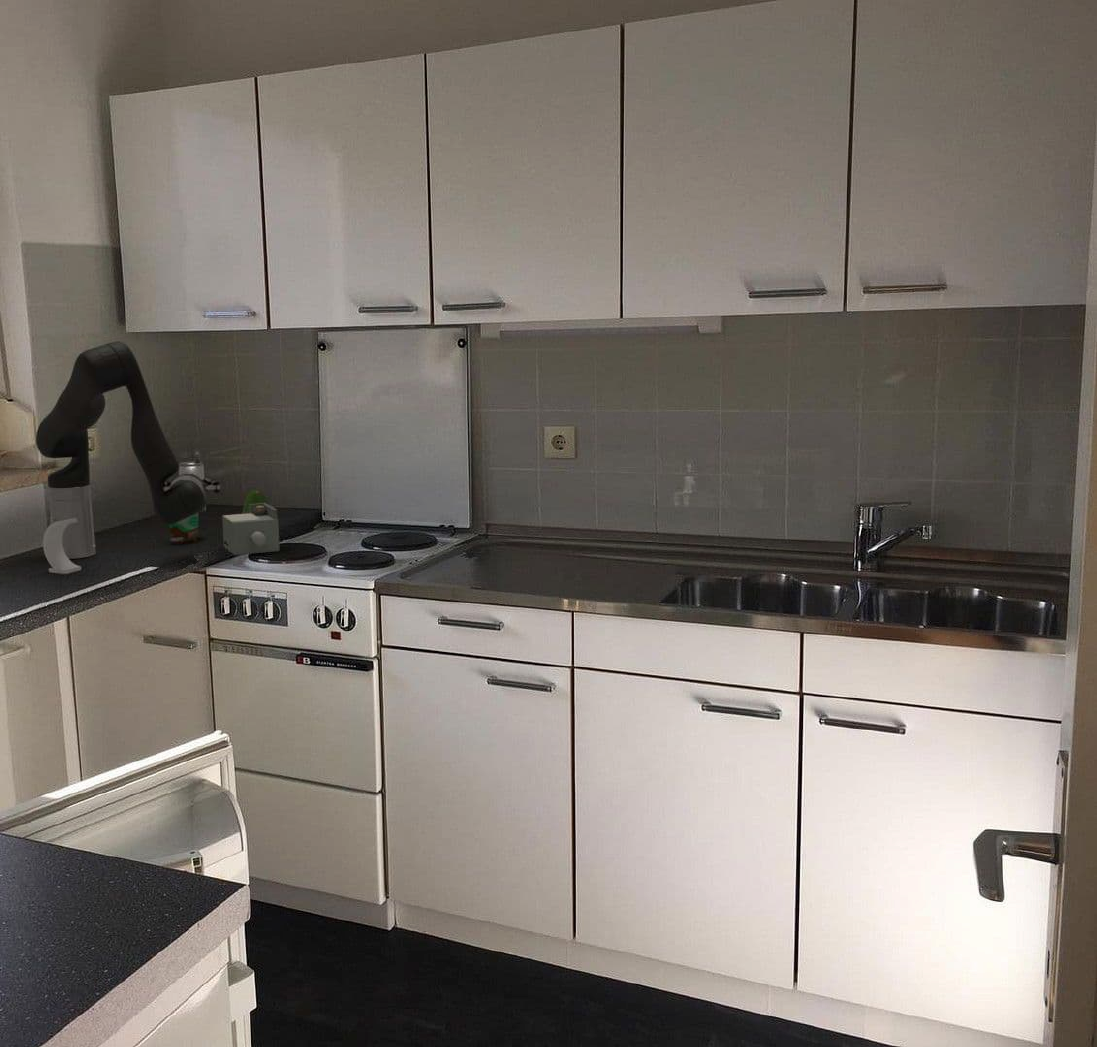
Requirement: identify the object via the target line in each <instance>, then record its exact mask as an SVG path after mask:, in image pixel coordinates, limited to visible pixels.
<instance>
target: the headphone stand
mask: <svg viewBox="0 0 1097 1047" xmlns="http://www.w3.org/2000/svg"><path fill="white" fill-rule="evenodd" d="M75 522H77V518H73V519H68V520H63V521H58V522H54V523H52V524H51V523H50V524H49V526H48V527H47V528H46V530H45V531H44V534H43V538H42V540H43V541H42V544H43V545H42V546H43V551H44V556H45V558H46V560H47V562H48V563H49V565H50V566H51V567H50V568H48V572H49V573H54V574H60V575H61V574H62V575H67V574H71V573H74V572H75V573H76V572H78V571H81V570H82V566H81V565H77V564H75V563H74V562H72V561H71V559H68V557H67V556H66V554H65V552H64V549H63V545H62V535H63V532H64V529H65V528H66V526H67V525H69V524H70V523H75Z"/></svg>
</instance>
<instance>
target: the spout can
mask: <svg viewBox="0 0 1097 1047" xmlns="http://www.w3.org/2000/svg"><path fill="white" fill-rule="evenodd" d="M178 472H179V474H178V476H180V475H182V474H194V475H196V476H198V477H199V478H200V479H205V468H204V464H203V462H202V461H201V453H200V452H197V451H196V452H194V461H185V462H183V461H182V462H180V463H179V470H178ZM205 499H207V498H206V496H205ZM206 511H207V505H206V506H205V508H204V509H203V510H202V511H200V512H199V513H202V512H206Z"/></svg>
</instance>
